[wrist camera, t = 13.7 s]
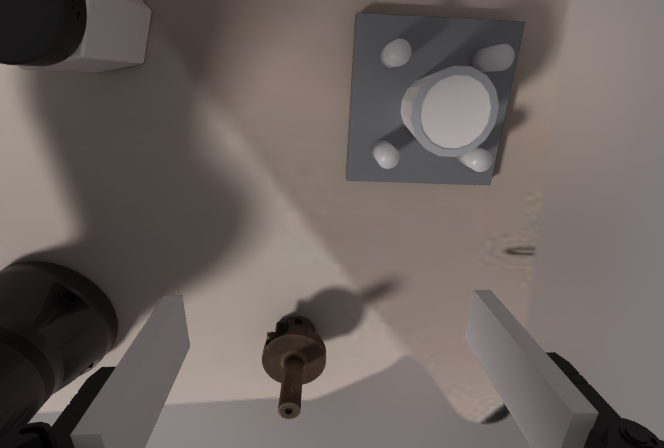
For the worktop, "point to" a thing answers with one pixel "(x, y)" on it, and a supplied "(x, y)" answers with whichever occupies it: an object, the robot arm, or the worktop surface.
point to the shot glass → (451, 110)
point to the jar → (73, 34)
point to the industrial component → (293, 361)
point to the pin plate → (400, 73)
